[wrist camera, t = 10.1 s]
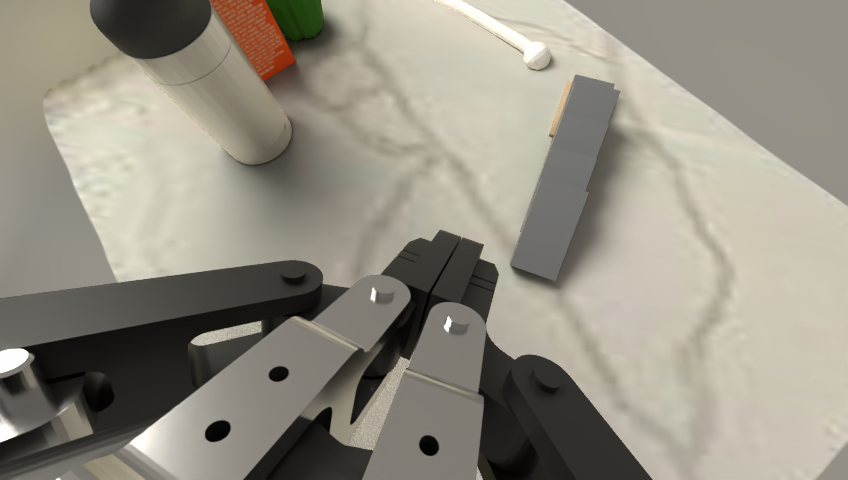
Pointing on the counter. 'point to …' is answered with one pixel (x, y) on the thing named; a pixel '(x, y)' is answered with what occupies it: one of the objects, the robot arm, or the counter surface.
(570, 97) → the domino
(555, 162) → the domino
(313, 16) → the bell pepper
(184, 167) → the counter surface
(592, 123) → the domino
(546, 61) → the white bone
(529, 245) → the domino
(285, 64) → the cereal box
